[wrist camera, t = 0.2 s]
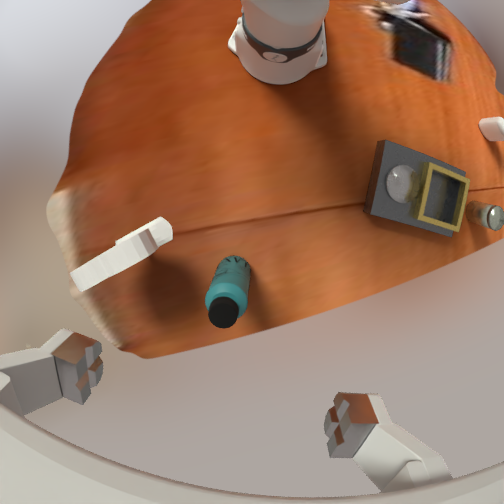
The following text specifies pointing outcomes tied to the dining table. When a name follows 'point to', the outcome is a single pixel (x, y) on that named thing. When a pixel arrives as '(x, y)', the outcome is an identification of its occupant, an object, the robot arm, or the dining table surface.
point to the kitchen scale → (416, 189)
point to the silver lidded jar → (485, 215)
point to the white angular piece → (123, 253)
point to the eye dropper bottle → (492, 128)
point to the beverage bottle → (228, 292)
